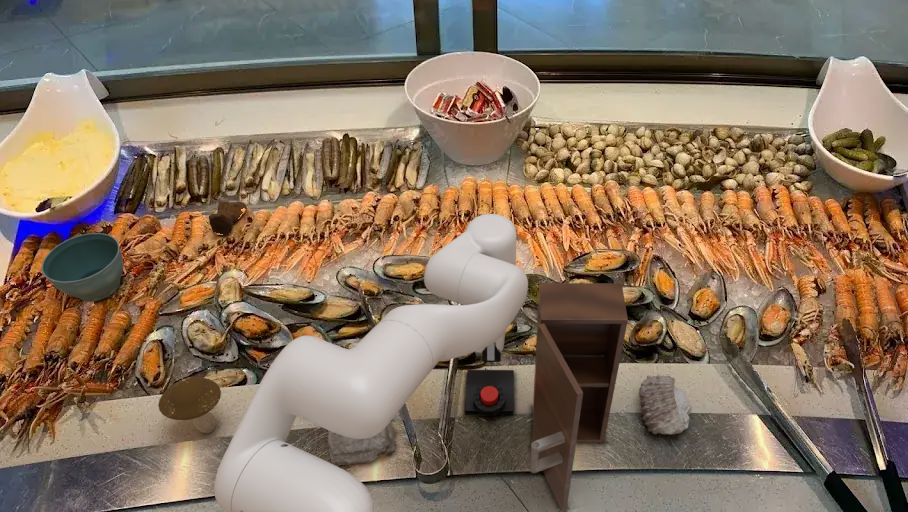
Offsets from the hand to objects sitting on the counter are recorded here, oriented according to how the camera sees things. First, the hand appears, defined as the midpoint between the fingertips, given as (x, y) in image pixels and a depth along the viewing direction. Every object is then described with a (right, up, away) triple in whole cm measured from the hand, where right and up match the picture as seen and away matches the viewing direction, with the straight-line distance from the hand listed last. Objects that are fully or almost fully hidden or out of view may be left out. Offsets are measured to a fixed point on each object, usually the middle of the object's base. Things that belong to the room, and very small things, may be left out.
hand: (491, 358), depth 115 cm
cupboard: (+15, -18, +20) cm, 30 cm away
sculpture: (-74, +23, +64) cm, 100 cm away
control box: (-1, -13, +25) cm, 28 cm away
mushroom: (-58, -18, +19) cm, 64 cm away
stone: (-26, -20, +17) cm, 37 cm away
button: (-1, -12, +21) cm, 24 cm away
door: (+8, -26, +10) cm, 29 cm away
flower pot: (-97, +8, +46) cm, 108 cm away
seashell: (+35, -16, +22) cm, 44 cm away
